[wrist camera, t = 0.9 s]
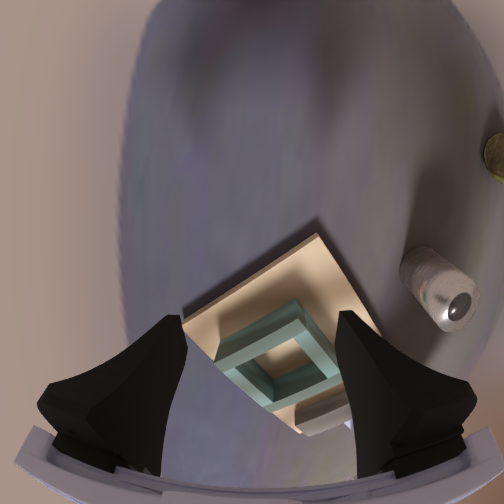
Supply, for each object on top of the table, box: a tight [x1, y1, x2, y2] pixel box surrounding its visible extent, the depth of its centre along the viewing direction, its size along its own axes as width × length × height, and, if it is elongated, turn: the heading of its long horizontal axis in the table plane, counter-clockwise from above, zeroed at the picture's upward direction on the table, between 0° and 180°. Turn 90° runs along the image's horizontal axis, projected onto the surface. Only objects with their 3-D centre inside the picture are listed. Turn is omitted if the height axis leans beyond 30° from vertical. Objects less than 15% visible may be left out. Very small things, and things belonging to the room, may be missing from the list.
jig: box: [182, 232, 383, 437], centre depth 22 cm, size 20×14×4 cm
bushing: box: [399, 246, 480, 332], centre depth 17 cm, size 4×4×7 cm
